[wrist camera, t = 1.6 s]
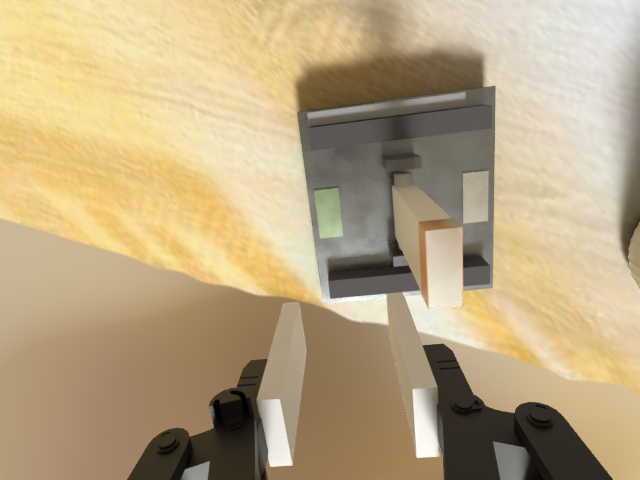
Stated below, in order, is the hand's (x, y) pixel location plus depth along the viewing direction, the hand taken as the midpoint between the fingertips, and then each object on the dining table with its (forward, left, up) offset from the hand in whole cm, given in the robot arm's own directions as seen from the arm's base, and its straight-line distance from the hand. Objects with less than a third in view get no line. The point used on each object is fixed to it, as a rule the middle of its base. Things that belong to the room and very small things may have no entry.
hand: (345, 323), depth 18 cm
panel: (0, +6, -25) cm, 25 cm away
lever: (0, +6, -19) cm, 20 cm away
